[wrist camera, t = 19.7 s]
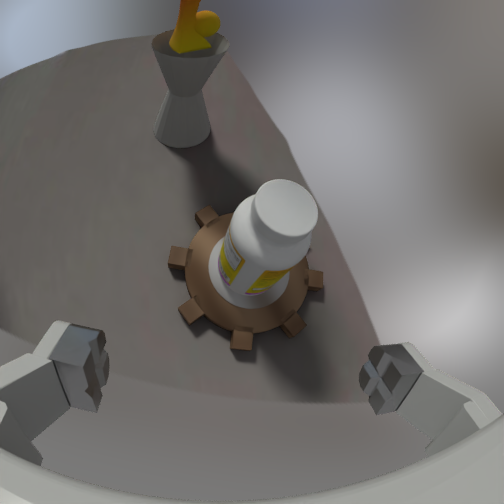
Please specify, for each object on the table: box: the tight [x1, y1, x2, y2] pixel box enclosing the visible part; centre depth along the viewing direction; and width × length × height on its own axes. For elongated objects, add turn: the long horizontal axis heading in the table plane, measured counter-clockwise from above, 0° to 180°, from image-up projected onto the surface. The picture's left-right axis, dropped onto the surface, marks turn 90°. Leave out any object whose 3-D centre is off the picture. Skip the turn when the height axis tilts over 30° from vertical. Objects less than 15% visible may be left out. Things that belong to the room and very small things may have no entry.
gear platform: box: [168, 205, 323, 351], centre depth 32 cm, size 18×18×2 cm
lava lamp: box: [152, 0, 229, 148], centre depth 23 cm, size 9×9×35 cm
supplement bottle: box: [218, 179, 318, 296], centre depth 25 cm, size 7×7×13 cm
